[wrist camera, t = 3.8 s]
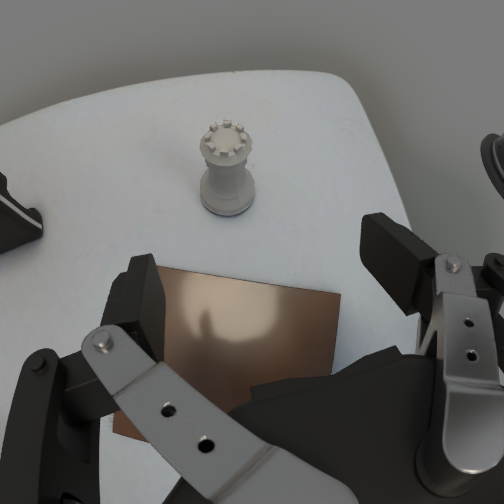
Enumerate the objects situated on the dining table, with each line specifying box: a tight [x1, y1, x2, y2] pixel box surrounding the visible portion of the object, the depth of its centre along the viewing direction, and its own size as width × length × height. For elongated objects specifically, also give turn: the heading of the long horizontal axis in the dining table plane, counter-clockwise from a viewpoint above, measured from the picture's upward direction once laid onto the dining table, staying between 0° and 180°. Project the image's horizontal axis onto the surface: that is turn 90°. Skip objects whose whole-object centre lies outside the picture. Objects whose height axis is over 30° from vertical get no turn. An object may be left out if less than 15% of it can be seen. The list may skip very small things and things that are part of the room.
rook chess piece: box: [200, 120, 255, 216], centre depth 21 cm, size 4×4×8 cm
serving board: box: [113, 266, 341, 443], centre depth 21 cm, size 16×14×1 cm
